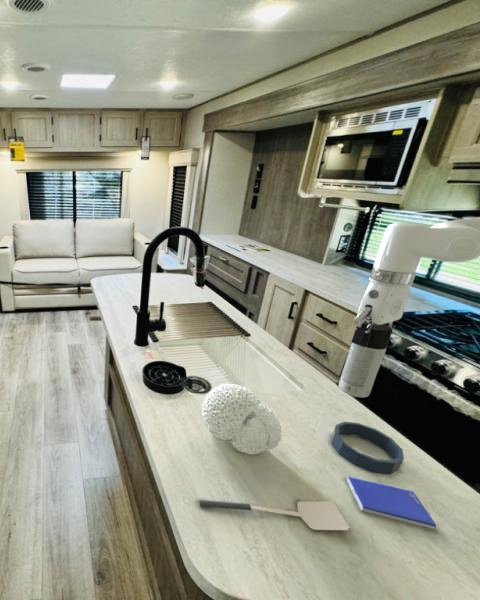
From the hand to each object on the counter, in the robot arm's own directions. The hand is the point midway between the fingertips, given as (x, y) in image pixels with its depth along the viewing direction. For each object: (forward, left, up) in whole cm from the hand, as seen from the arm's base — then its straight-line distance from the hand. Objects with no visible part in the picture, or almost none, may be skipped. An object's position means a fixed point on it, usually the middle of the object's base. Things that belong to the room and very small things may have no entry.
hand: (368, 341), depth 81 cm
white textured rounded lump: (+29, -9, -30) cm, 42 cm away
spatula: (+40, +10, -30) cm, 51 cm away
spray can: (0, 0, -15) cm, 15 cm away
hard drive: (+13, +19, -30) cm, 37 cm away
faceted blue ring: (+2, +8, -29) cm, 31 cm away
